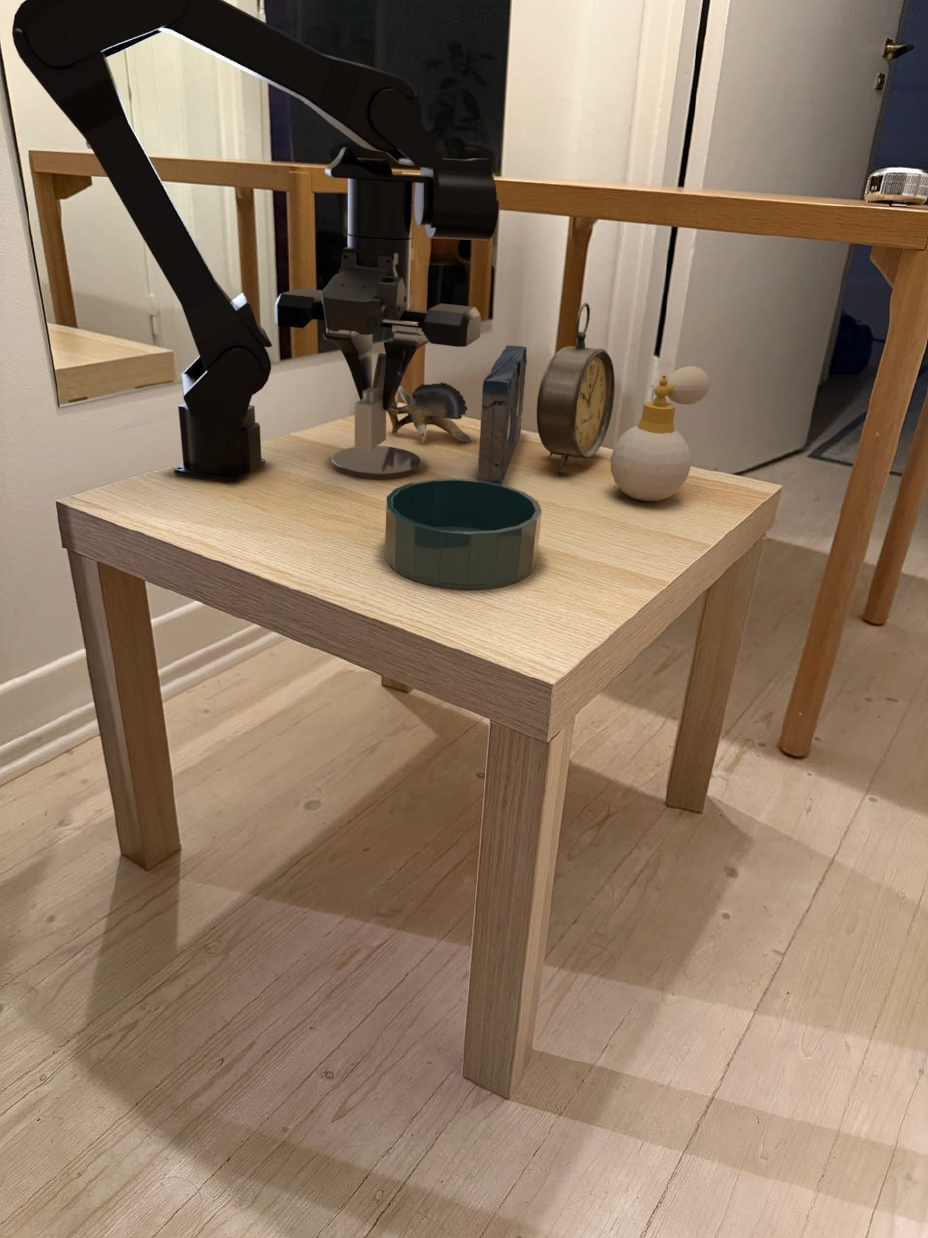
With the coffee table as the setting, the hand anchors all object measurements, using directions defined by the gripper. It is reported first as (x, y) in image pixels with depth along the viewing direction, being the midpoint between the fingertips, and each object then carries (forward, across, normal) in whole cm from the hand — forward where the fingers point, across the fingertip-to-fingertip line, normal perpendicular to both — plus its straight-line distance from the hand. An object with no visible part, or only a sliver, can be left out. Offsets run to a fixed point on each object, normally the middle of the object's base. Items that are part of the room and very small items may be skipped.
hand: (376, 407), depth 89 cm
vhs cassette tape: (+6, +11, +8) cm, 15 cm away
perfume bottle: (+6, +27, +3) cm, 28 cm away
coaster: (+6, 0, 0) cm, 6 cm away
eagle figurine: (+6, +2, +11) cm, 13 cm away
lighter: (+3, 0, 0) cm, 3 cm away
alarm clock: (+6, +18, +9) cm, 21 cm away
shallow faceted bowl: (+6, +14, -19) cm, 24 cm away
